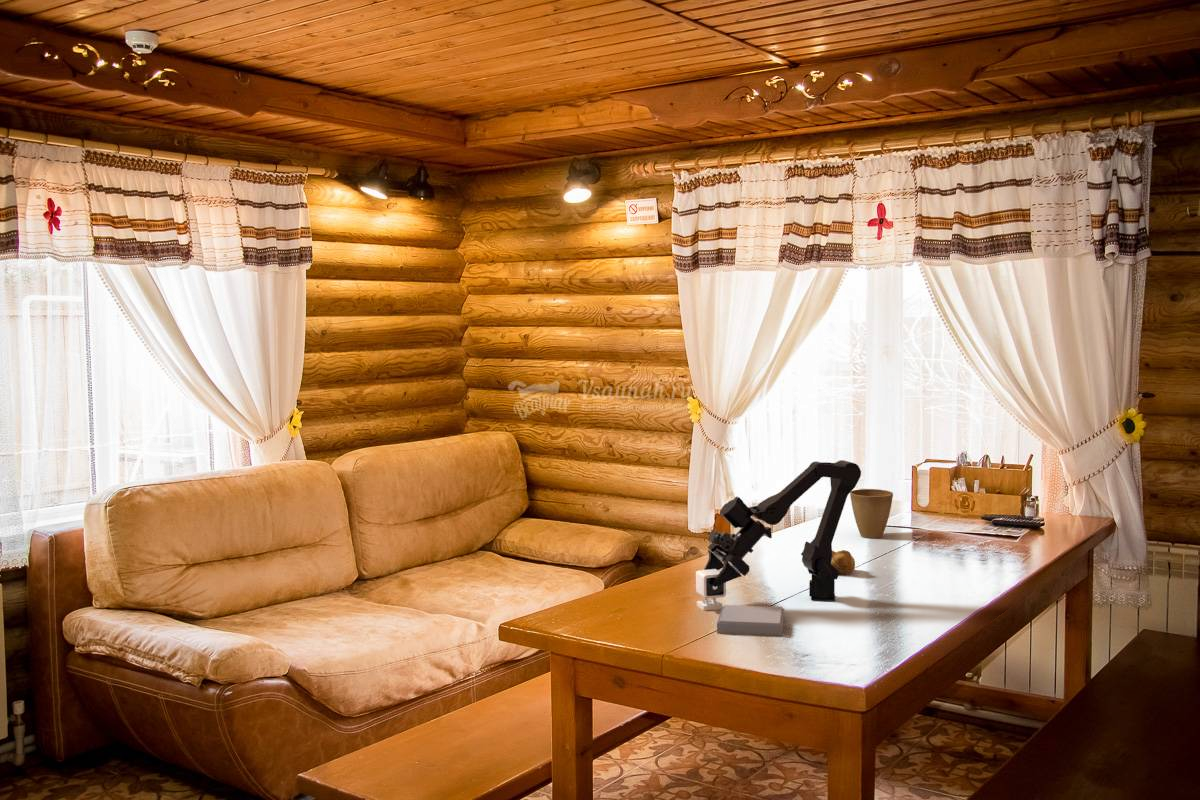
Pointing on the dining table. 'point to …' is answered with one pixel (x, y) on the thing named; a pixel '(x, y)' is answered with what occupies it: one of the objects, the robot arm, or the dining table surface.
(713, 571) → the security camera
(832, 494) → the robot arm
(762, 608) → the grey square slab
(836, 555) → the bread roll
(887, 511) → the plant pot
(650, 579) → the dining table surface
